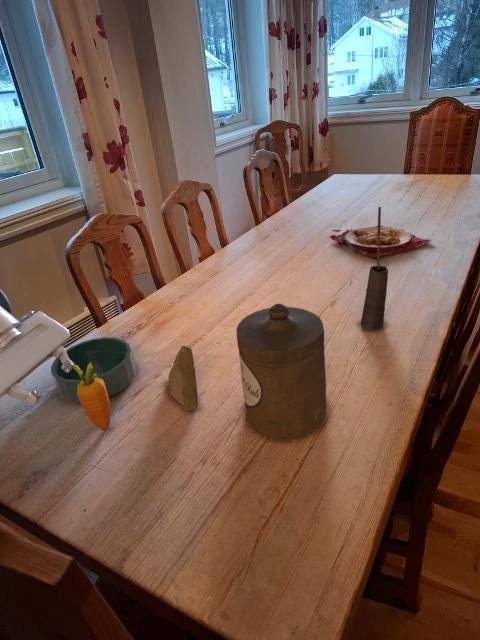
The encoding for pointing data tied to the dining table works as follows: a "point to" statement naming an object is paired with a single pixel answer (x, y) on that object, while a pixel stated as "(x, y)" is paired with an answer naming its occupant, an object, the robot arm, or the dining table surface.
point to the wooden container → (283, 370)
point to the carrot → (94, 398)
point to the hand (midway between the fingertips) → (55, 384)
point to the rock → (184, 379)
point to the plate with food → (389, 240)
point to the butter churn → (375, 292)
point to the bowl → (96, 366)
